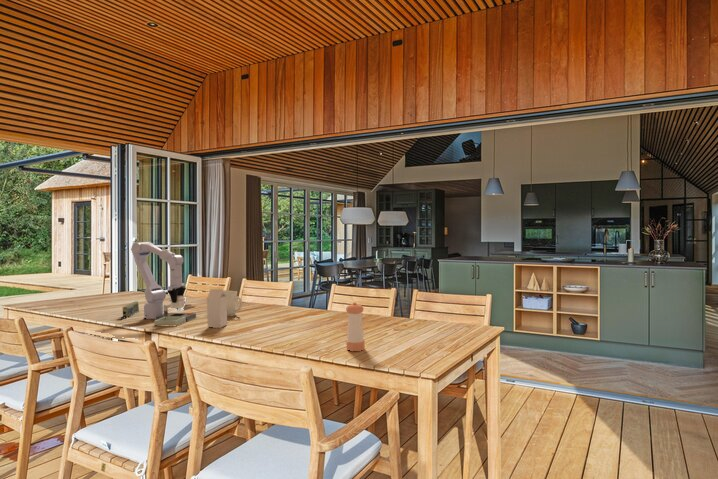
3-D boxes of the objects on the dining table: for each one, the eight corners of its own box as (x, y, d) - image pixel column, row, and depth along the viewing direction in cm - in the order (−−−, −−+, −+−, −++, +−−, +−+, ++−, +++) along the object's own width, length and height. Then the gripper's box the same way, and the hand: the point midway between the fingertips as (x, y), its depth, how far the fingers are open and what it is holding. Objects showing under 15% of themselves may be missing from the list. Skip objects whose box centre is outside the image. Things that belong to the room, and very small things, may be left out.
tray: (154, 326, 239) (154, 320, 239) (164, 321, 249) (164, 316, 249) (176, 326, 238) (176, 320, 238) (185, 322, 248) (185, 316, 248)
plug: (169, 308, 252) (169, 297, 252) (175, 306, 258) (174, 295, 258) (179, 308, 252) (179, 297, 251) (185, 306, 257) (184, 295, 257)
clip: (165, 314, 255) (165, 305, 254) (163, 314, 255) (162, 305, 255) (186, 309, 269) (185, 301, 269) (183, 309, 270) (183, 300, 270)
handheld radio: (140, 311, 281) (124, 320, 257) (134, 312, 281) (118, 320, 256) (139, 301, 281) (123, 308, 256) (133, 301, 281) (117, 309, 256)
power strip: (155, 321, 251) (155, 315, 251) (165, 317, 261) (165, 311, 261) (187, 321, 249) (187, 315, 249) (196, 317, 259) (195, 312, 259)
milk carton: (220, 328, 231) (219, 290, 231) (207, 327, 233) (206, 290, 232) (227, 325, 238) (226, 288, 238) (214, 324, 240) (213, 288, 239)
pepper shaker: (364, 346, 192) (363, 300, 191) (365, 351, 184) (364, 303, 184) (346, 347, 191) (345, 301, 191) (346, 352, 184) (345, 304, 183)
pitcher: (235, 318, 255) (234, 293, 254) (211, 315, 263) (210, 291, 263) (248, 314, 265) (248, 290, 264) (225, 312, 273) (224, 289, 273)
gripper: (176, 278, 247) (177, 303, 247) (189, 275, 261) (190, 299, 262) (164, 278, 247) (165, 303, 248) (177, 275, 262) (178, 299, 262)
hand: (177, 301), depth 255 cm, fingers closed on plug, 6 cm apart
